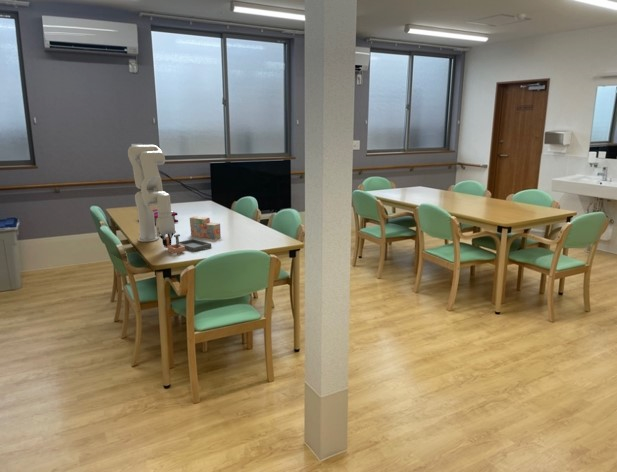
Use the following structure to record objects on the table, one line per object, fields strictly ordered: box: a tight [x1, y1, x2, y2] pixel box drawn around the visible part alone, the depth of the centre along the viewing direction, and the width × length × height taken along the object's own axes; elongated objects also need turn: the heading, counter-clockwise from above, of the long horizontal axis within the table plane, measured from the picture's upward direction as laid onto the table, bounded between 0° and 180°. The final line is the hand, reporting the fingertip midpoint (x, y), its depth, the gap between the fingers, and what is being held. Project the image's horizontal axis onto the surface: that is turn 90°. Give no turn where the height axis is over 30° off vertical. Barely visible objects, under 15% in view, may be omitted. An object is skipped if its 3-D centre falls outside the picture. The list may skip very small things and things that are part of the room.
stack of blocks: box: [189, 215, 221, 240], centre depth 308 cm, size 21×6×12 cm, turn 58°
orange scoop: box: [163, 236, 186, 255], centre depth 272 cm, size 15×7×6 cm, turn 49°
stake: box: [173, 234, 181, 248], centre depth 268 cm, size 2×3×11 cm, turn 138°
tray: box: [179, 238, 212, 252], centre depth 283 cm, size 18×13×2 cm
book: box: [152, 208, 179, 226], centre depth 358 cm, size 21×28×8 cm
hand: (167, 244), depth 276 cm, fingers closed on orange scoop
